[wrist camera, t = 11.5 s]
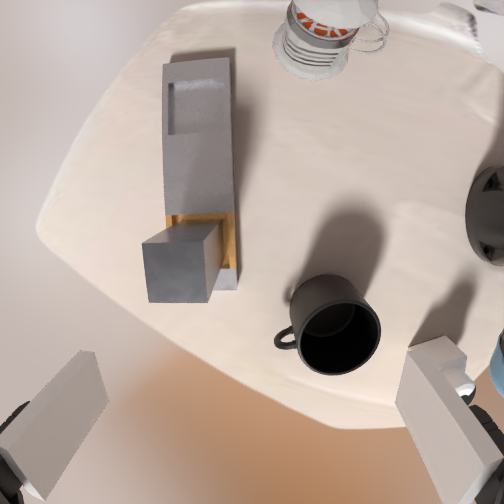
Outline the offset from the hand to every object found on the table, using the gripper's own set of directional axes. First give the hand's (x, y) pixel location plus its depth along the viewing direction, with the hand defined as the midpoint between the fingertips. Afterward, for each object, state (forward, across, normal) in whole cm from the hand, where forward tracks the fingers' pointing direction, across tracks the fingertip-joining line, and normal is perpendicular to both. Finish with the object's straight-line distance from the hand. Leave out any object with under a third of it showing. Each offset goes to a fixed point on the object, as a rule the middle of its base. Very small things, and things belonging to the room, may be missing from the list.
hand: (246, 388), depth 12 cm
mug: (+28, -7, +9) cm, 31 cm away
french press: (+28, -8, -25) cm, 39 cm away
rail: (+28, +7, -9) cm, 30 cm away
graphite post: (+27, +7, -1) cm, 28 cm away
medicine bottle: (+29, -26, +19) cm, 43 cm away
